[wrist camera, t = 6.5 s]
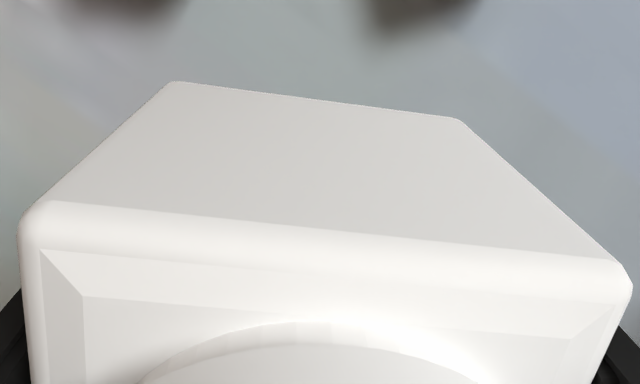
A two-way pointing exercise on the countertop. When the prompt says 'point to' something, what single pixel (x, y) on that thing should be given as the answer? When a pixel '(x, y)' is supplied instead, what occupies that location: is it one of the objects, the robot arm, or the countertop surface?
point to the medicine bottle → (307, 254)
